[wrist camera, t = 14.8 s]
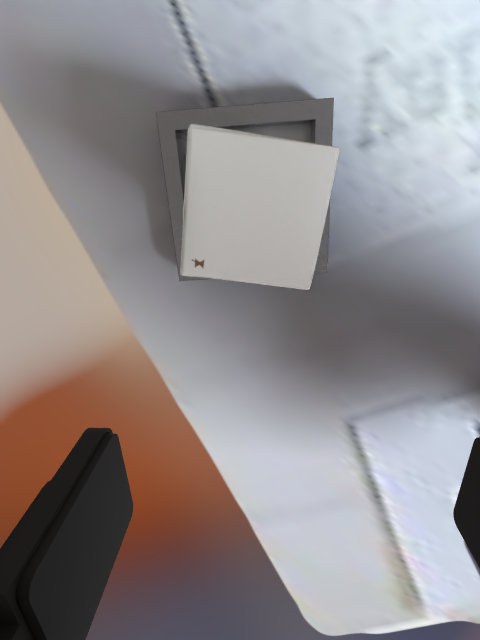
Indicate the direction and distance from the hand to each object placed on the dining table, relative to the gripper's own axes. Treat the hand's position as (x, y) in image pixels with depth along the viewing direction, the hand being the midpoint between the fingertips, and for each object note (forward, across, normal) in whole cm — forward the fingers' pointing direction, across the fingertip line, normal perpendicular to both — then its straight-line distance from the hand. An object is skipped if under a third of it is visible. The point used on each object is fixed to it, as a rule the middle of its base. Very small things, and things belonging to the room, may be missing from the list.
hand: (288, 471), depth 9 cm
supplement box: (+24, +1, -6) cm, 24 cm away
